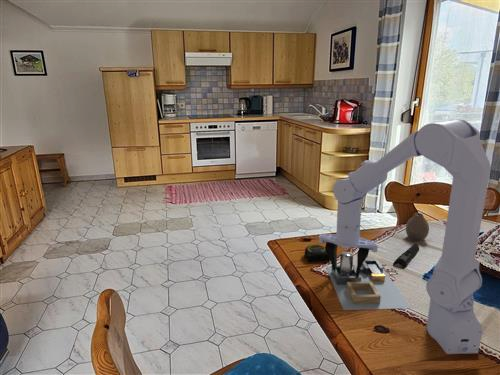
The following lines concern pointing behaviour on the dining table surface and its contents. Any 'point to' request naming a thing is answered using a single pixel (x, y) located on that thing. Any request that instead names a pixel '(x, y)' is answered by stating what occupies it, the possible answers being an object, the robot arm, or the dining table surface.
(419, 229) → the vase
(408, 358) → the dining table surface
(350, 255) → the frosted capsule tube
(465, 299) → the robot arm
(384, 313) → the dining table surface
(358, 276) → the socket
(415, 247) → the electric trimmer
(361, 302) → the brown piece
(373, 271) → the key
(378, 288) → the board
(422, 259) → the dining table surface
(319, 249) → the tape measure
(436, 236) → the dining table surface
